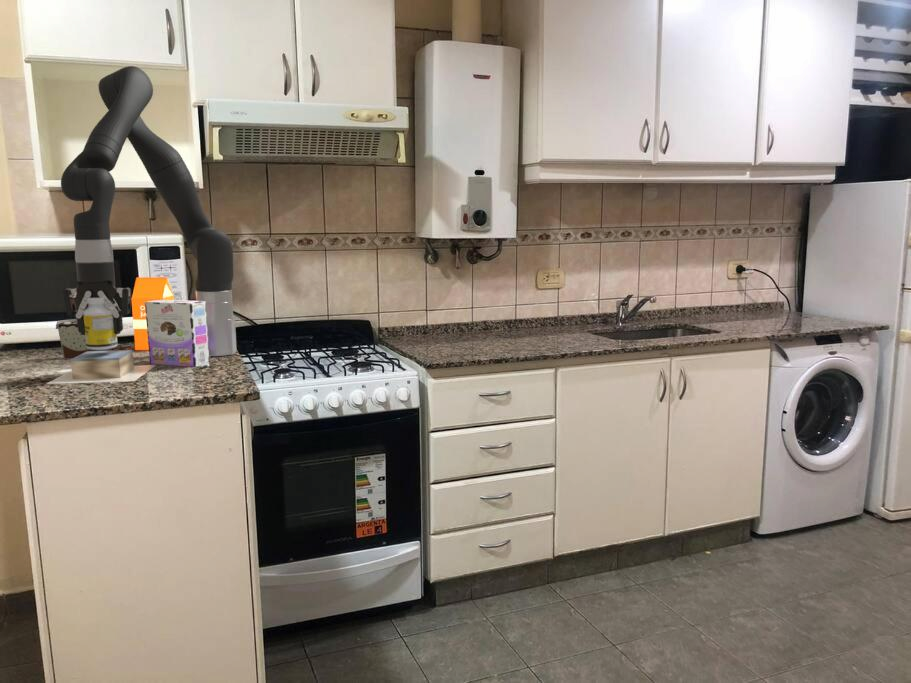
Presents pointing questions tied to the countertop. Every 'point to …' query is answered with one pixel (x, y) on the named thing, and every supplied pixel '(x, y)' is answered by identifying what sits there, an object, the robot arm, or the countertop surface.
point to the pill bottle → (99, 325)
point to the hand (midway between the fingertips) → (101, 334)
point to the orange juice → (143, 293)
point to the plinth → (102, 364)
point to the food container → (71, 339)
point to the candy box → (177, 332)
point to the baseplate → (130, 376)
